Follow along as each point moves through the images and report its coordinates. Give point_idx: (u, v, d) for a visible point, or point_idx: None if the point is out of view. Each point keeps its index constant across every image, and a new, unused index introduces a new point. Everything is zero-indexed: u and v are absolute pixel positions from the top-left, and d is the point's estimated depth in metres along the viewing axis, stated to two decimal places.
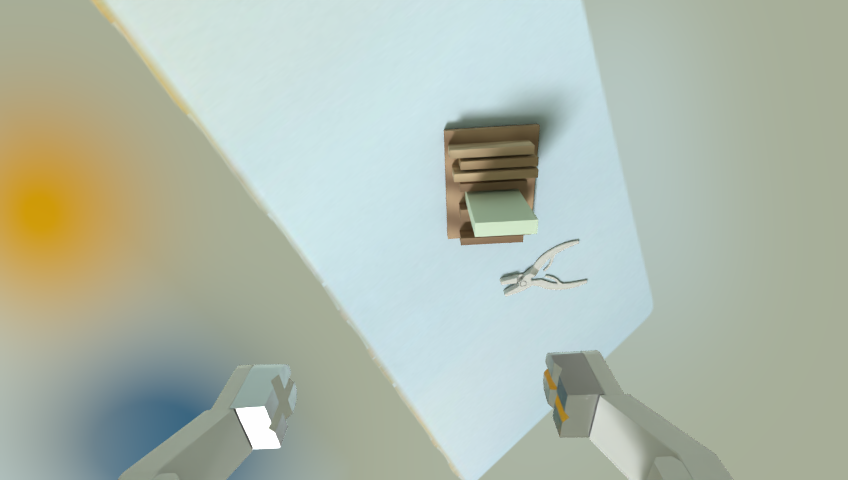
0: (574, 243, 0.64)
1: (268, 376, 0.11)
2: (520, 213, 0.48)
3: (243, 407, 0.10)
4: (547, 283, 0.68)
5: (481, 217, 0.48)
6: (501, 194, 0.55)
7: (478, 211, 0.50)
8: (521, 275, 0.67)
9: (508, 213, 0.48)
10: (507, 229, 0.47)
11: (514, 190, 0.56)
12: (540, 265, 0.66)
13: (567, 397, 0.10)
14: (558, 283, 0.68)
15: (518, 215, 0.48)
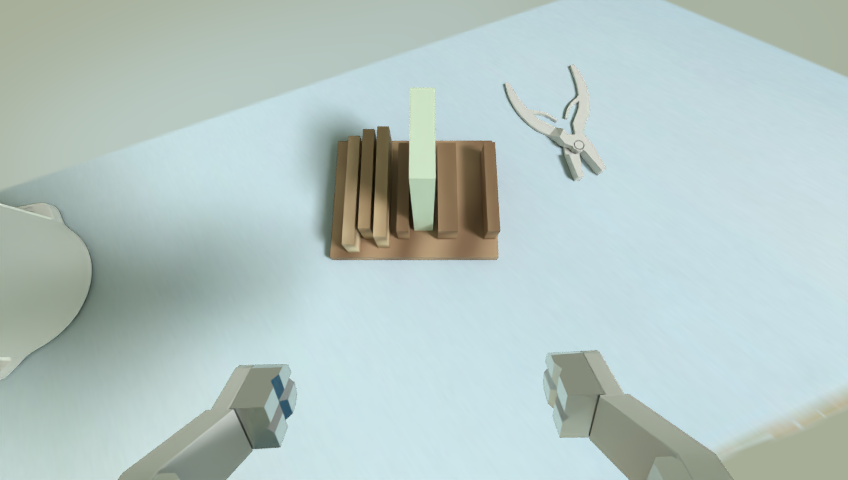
0: (510, 87, 0.46)
1: (268, 376, 0.11)
2: None
3: (243, 407, 0.10)
4: (578, 114, 0.45)
5: None
6: None
7: None
8: (566, 150, 0.43)
9: None
10: (425, 129, 0.28)
11: None
12: (546, 125, 0.44)
13: (567, 397, 0.10)
14: (578, 99, 0.45)
15: None
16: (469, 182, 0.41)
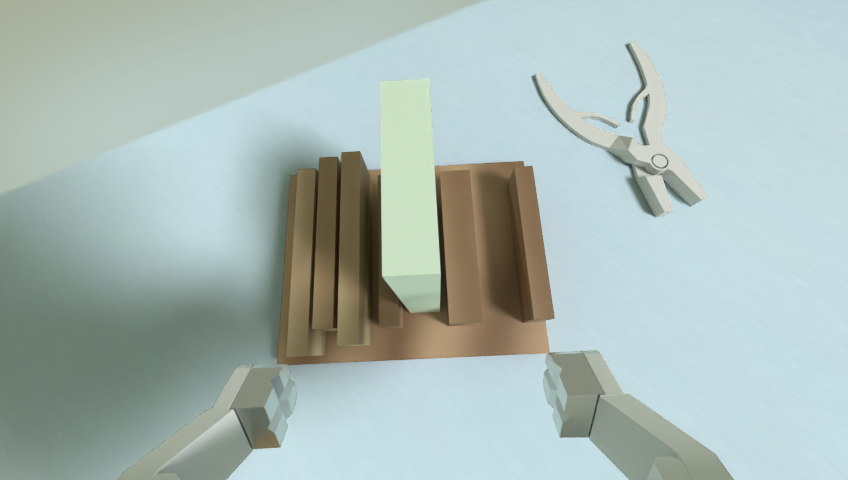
0: (543, 80, 0.31)
1: (268, 376, 0.11)
2: None
3: (243, 407, 0.10)
4: (651, 113, 0.30)
5: None
6: None
7: None
8: (638, 169, 0.28)
9: None
10: (413, 164, 0.14)
11: None
12: (604, 134, 0.29)
13: (567, 397, 0.10)
14: (647, 92, 0.30)
15: None
16: (493, 229, 0.26)
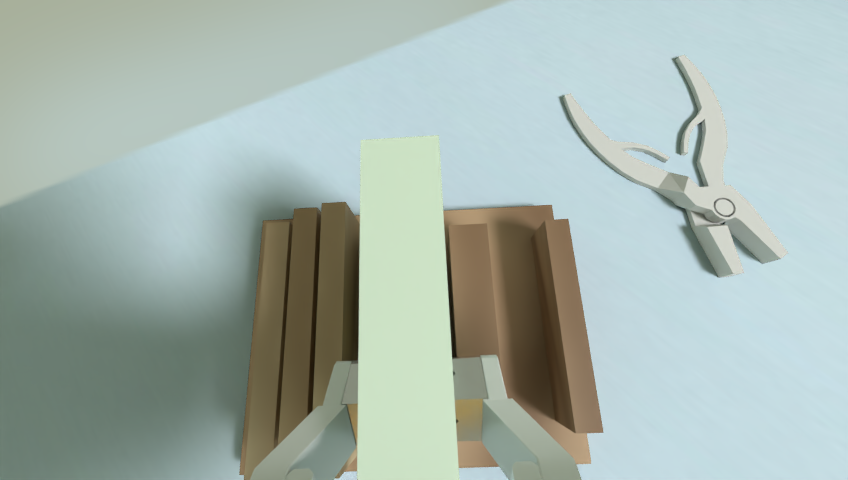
0: (573, 102, 0.25)
1: None
2: None
3: (355, 403, 0.10)
4: (708, 144, 0.24)
5: None
6: None
7: None
8: (695, 216, 0.23)
9: None
10: (413, 286, 0.08)
11: None
12: (651, 170, 0.24)
13: None
14: (702, 118, 0.25)
15: None
16: (515, 293, 0.21)
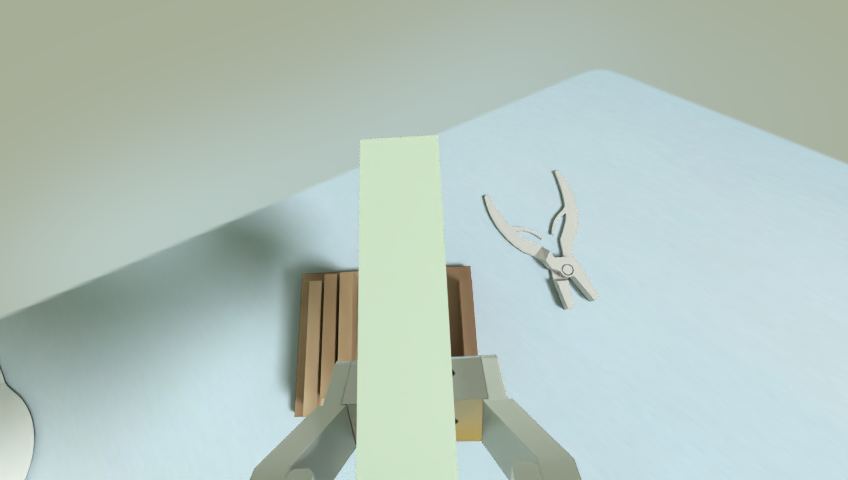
0: (489, 200, 0.42)
1: None
2: None
3: (355, 402, 0.10)
4: (566, 229, 0.41)
5: None
6: None
7: None
8: (554, 273, 0.39)
9: None
10: (412, 285, 0.08)
11: None
12: (531, 245, 0.40)
13: None
14: (564, 212, 0.41)
15: None
16: None
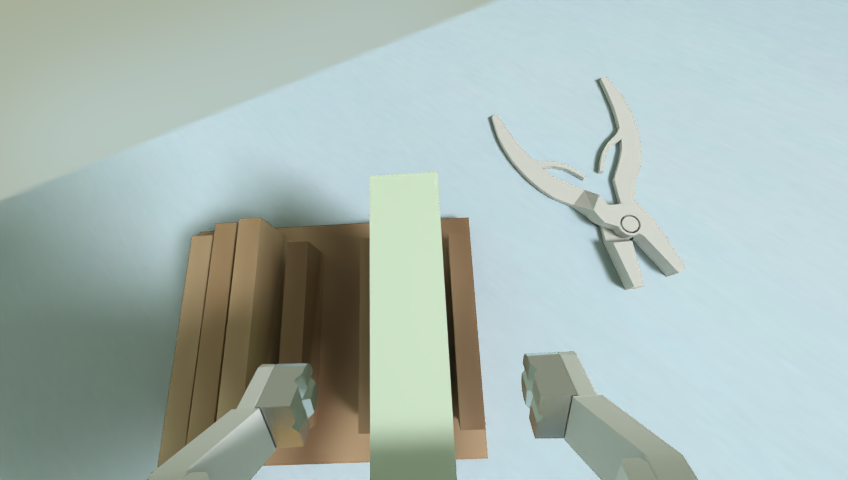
0: (500, 122, 0.27)
1: (291, 375, 0.11)
2: None
3: (269, 406, 0.10)
4: (623, 163, 0.26)
5: None
6: None
7: None
8: (606, 231, 0.24)
9: None
10: (416, 305, 0.10)
11: None
12: (568, 188, 0.25)
13: (540, 398, 0.10)
14: (619, 137, 0.26)
15: None
16: None
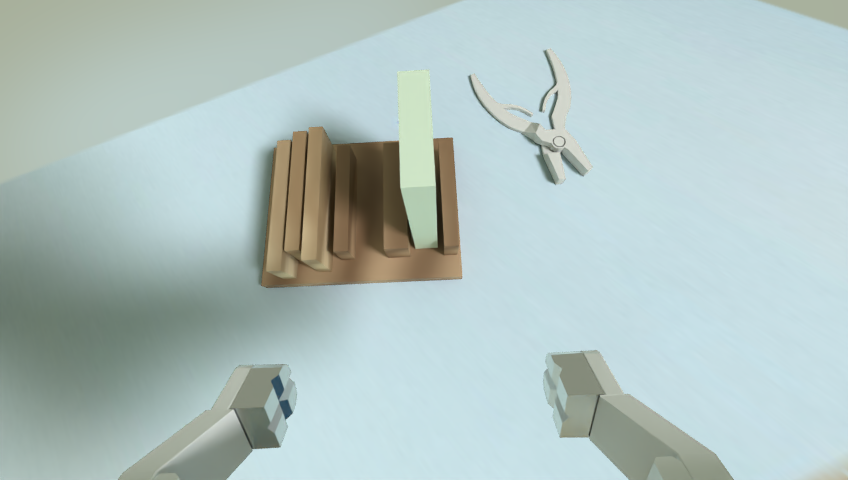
0: (476, 79, 0.39)
1: (268, 376, 0.11)
2: None
3: (243, 407, 0.10)
4: (558, 105, 0.38)
5: None
6: None
7: None
8: (544, 148, 0.36)
9: None
10: (419, 122, 0.22)
11: None
12: (520, 121, 0.37)
13: (567, 397, 0.10)
14: (556, 88, 0.38)
15: None
16: None
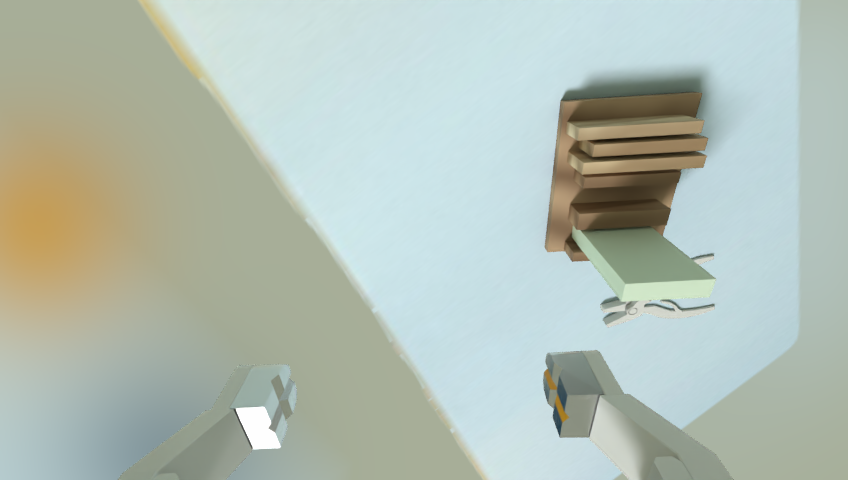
0: (707, 260, 0.48)
1: (268, 376, 0.11)
2: (681, 267, 0.35)
3: (243, 407, 0.10)
4: (662, 310, 0.52)
5: (628, 273, 0.34)
6: (631, 232, 0.41)
7: (617, 262, 0.36)
8: None
9: (663, 267, 0.35)
10: (669, 292, 0.33)
11: (644, 226, 0.42)
12: None
13: (567, 397, 0.10)
14: (676, 310, 0.52)
15: (680, 270, 0.34)
16: None
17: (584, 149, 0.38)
